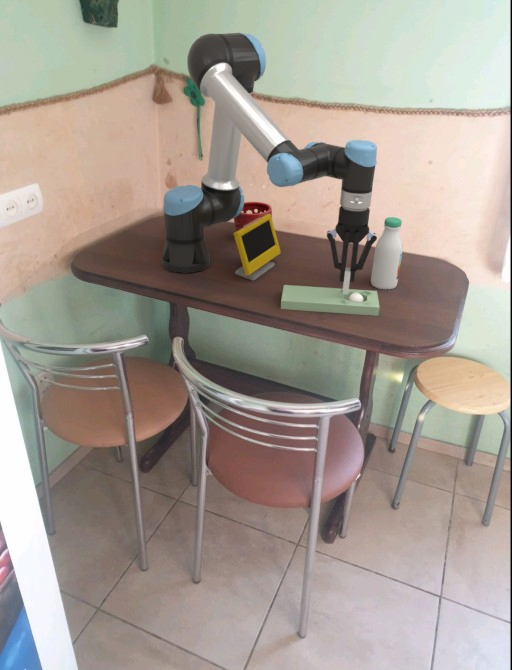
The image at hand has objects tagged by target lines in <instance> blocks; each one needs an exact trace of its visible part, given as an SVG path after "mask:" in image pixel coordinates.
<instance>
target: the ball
mask: <svg viewBox="0 0 512 670" xmlns="http://www.w3.org/2000/svg"><path fill="white" fill-rule="evenodd" d="M348 301H350V302H357V303H362V302H363V297H362V295H361V294H359V293H352V294H351V295H350V296H349V299H348Z"/></svg>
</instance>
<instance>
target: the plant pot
mask: <svg viewBox="0 0 512 670" xmlns="http://www.w3.org/2000/svg"><path fill="white" fill-rule="evenodd" d="M255 210H257V212H255ZM248 211H250V212H251V213H248ZM267 214H271V217H273V208H272V206H271V205H270V204H268V203H265V202H260V201H244V206H243V209H242V211H241V213H240V214H239V215H238V216H237V217H236V218H233V220H234V221H233V222H234V227H235V230H236V231H238V230H240V229H242V228H243V226H245V225H246V224H248V223H250V222H252V221H254V220H255V219H257V218H259V217H263V216H265V215H267Z"/></svg>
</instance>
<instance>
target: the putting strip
mask: <svg viewBox="0 0 512 670" xmlns="http://www.w3.org/2000/svg"><path fill="white" fill-rule="evenodd" d="M342 289H343V288H337V287H336V288H335V287H325V286H324V287H322V286H309V285H308V286H306V285H290V284H283V289H282V294H281V300H280V309H281V310H290V311H291V310H292V311H306V312H319V313H334V314H345V315H347V314H348V315H362V316H363V315H364V316H374V317H375V316H376V317H378V316H379V314H380V308H381V307H380V300H379V295H378V291H377V290H368V289H353V288H349V292H348V294H343V291H342ZM352 293H359V294H361V295H362V297H363V302H362V303H357V302H350V301H348V299H349V296H350V295H351V294H352Z"/></svg>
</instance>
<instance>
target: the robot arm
mask: <svg viewBox="0 0 512 670" xmlns="http://www.w3.org/2000/svg"><path fill="white" fill-rule="evenodd" d="M186 59H187V60H186V61H187V71H188V75H189V76H190V79H191V81H192V83H193V84H194V86H195V87H196V89H197V90H198V91H199V92H200V93H201V94H202V95H203V96H204V97H206V98H210V99H212V101H213V102H214V109H213V120H212V128H211V138H210V148H209V154H208V155H209V156H208V165H207V166H208V167H207V173H206V174H204V175H203V176H202V178H201V183H200V184H201V186H200V187H199V186H197V185H192V184H191V185H190V184H189V185H187V184H186V185H180V186H176V187H173V188H171V189H169V190H168V191H166V193H165V194H164V196H163V207H162V209H163V213H164V214H163V215H164V216H163V217H164V227H165V229H164V230H165V245H164V248H163V251H162V256H161V265H163V266H162V267H163V268H164V269H165V270H166V269H168V270H167V271H169V270H170V271H169V272H172V271H175V272H174V273H176V272H182V273H181V274H191V273H190V272H193V273H197V271H198V272H201V271H205V270H206V269H207V268H209V267H210V265H211V255H210V252H209V250H208V247H207V245H206V242H205V234H204V233H205V229H204V228H207V227H212V226H214V225H217V224H221V223H226V222H229V221H231V220H234V218H236V217H237V216H238V215H239V214H240V213H241V212H243V211H242V209H243V206H244V203H245V195H244V194H243V191H244V190H243V189H242V187H241V186H240V181H239V179H237V178H236V175H237V170H238V169H237V167H238V161H239V153H240V148H241V147H240V146H241V140H242V136H243V137H244V138H245V139H246V140H247V141H248V142H249V144H250V145H251V146H252V147H253V148H254V149H255V151H256V152H257V153H258V154H259V156H261V157H262V159H263V160H264V161H265V162H266V163H267V166H266V173H267V175H268V179H269V180H270V182H271V183H272V184H273V185H274V186H276V187H278V188H286V187H294V186H296V185H299V184H301V183H305V182H309V181H314V180H317V179H320V178H323V177H329V178H332V179H336V180H341V187H340V189H341V190H340V199H339V200H340V201H339V205H340V207H339V209H338V210H339V211H338V218H337V219H338V220H337V224H336V226H335V228H333V229H332V230H327V231H326V237H327V239H328V241H329V243H330V249H331V255H332V256H331V257H332V262H333V266H334V269H338V270H339V271H340V272H339V282H341V283H342V288H341V289H342V291H343V294H348V292H349V289H350V283H354V281H355V275H356V272H357V271H361V270H363V269H364V266H365V263H366V261H367V258H368V255H369V254H370V251H371V248H372V246H373V244H374V243H375V242H377V241H378V237H377V233H375V232H372V231H370V227H369V221H370V220H369V219H370V207H371V203H372V196H373V195H372V194H373V184H374V179H375V171H376V165H377V150H378V148H377V147H378V146H377V145H376V143H374V142H373V141H370V140H362V139H361V140H360V139H354V140H348V141H347V142H346V144H345V147H344V146H338V145H334V144H331V143H326V142H323V141H320V142H318V141H311V142H309V143H307V144H306V146H304V147H303V148H301V149H299V148H298V147H297V146H296V145H295V144H294V143H293V142H292V140H291V139H290V138H289V137H288V136H287V135H286V134H285V133H284V131H283V130H282V129H281V128H280V127H279V126H278V125H277V123H275V122H274V120H273V119H272V118H271V117H270V115H269V114H268V113H267V112H266V111H265V110H264V109H263V108H262V106H260V104H259V103H258V102H257V100H255V99H254V97H253V96H252V94H253V92H254V86H255V82H257V81H259V80H260V79H261V77H263V75H264V74H265V71H266V67H267V60H266V59H267V57H266V53H265V49H264V48H263V47H262V44H261V41H260V40H259V39H258V38H257V37H255V36H254V35H252V34H249V33H241V32H235V33H232V32H231V33H230V32H229V33H205V34H203V35H201V36H200V37H198V38H197V39H195V41H194V42H192V44H191V46H190V47H189V51H188V55H187V58H186ZM337 235H338V236H339V238H340V239H341V241H342V249H341V258H340V259H341V260H340V261H339V257H338V249H337V243H336V238H337ZM365 237H366V241H365V245H364V247H363V249H362V251H361V253H360V258H359V260H358V259H357V258H358V251H359V245H360V242H362V241H363V239H365ZM349 244H352V249H351V250H352V252H351V257H350V258H351V259H350V267H347V259H348V251H349V250H348V249H349ZM188 272H189V273H188Z"/></svg>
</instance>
